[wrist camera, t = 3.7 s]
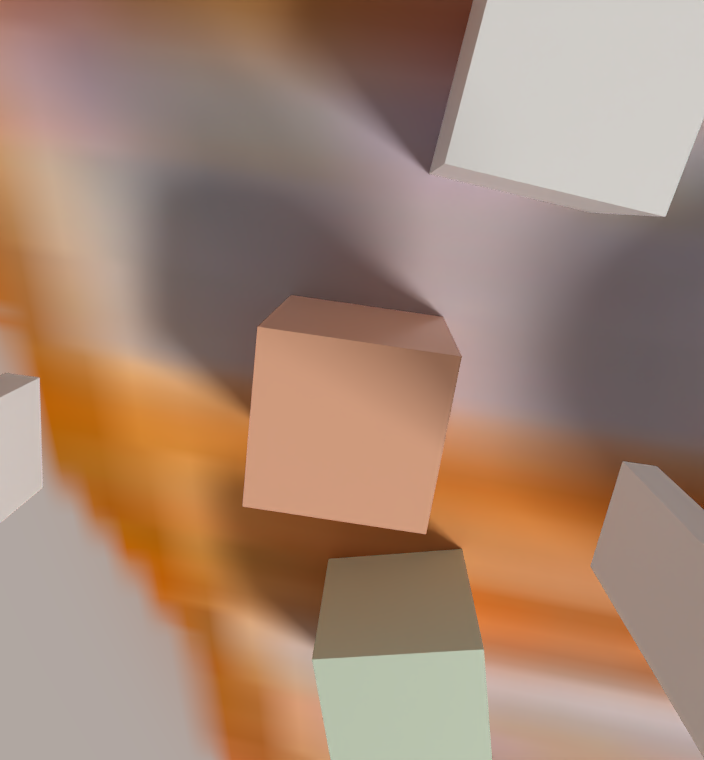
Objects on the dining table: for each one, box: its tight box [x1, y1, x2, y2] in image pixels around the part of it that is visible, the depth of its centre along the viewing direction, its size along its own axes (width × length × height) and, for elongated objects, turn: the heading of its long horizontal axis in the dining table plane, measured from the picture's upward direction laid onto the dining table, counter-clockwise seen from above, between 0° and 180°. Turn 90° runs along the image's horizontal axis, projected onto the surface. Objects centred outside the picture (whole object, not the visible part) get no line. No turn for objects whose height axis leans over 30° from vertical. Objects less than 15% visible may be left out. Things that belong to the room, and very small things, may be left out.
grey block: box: [429, 0, 704, 217], centre depth 14 cm, size 5×5×5 cm
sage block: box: [312, 549, 492, 760], centre depth 19 cm, size 5×5×5 cm
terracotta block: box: [242, 295, 462, 534], centre depth 17 cm, size 5×5×5 cm
